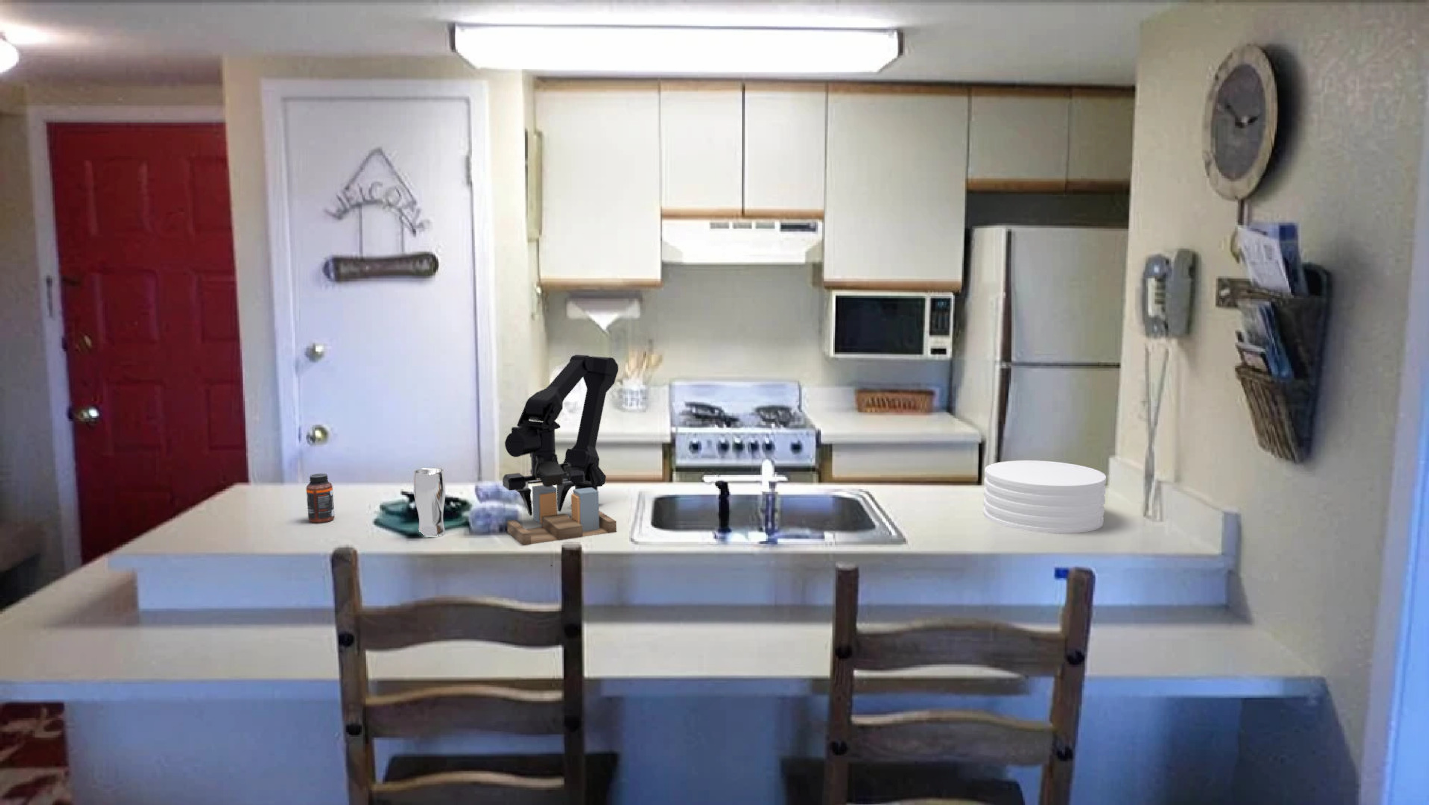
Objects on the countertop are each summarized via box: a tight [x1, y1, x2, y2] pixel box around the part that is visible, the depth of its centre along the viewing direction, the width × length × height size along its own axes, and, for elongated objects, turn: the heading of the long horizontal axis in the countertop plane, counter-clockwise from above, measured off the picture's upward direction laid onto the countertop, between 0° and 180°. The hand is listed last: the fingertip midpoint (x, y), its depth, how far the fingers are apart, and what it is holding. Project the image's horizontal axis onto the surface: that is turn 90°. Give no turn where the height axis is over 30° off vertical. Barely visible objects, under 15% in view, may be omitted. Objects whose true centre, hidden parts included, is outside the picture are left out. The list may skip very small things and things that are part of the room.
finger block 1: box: [531, 484, 558, 525], centre depth 233 cm, size 4×5×9 cm
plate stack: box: [982, 459, 1107, 534], centre depth 238 cm, size 28×28×12 cm
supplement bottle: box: [305, 473, 335, 524], centre depth 237 cm, size 6×6×11 cm
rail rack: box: [506, 510, 617, 546], centre depth 224 cm, size 12×22×4 cm, turn 118°
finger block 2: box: [570, 488, 600, 532], centre depth 226 cm, size 4×5×9 cm
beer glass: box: [413, 467, 446, 537], centre depth 225 cm, size 7×7×15 cm
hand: (545, 513), depth 234 cm, fingers open, 7 cm apart
